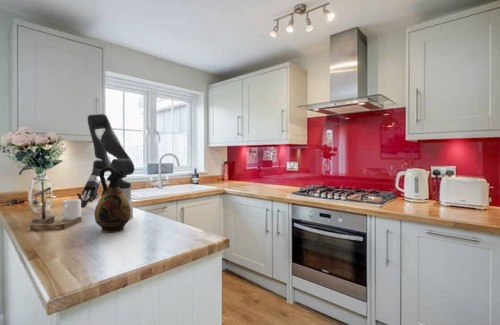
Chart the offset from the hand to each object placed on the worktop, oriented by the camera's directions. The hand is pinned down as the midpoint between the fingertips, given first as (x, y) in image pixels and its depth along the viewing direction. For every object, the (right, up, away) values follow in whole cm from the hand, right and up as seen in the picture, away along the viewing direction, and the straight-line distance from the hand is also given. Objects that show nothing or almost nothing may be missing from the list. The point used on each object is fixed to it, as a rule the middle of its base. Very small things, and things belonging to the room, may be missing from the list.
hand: (82, 207), depth 155 cm
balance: (-13, -5, -12) cm, 19 cm away
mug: (+1, -5, -11) cm, 13 cm away
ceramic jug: (+34, -6, -31) cm, 46 cm away
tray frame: (+2, -5, -23) cm, 24 cm away
